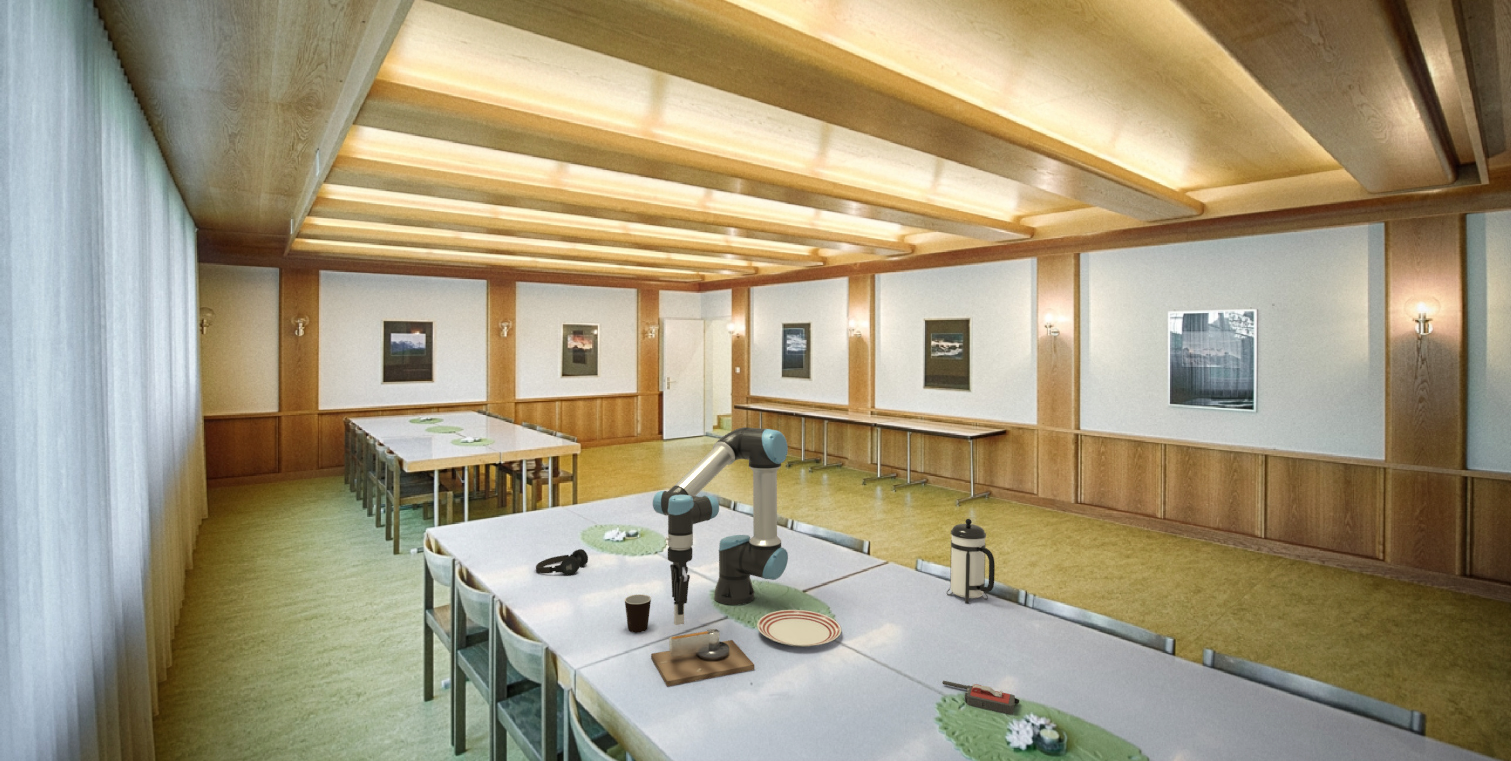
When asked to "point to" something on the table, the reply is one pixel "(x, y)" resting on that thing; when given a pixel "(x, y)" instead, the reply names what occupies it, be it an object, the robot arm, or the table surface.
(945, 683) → the walkie-talkie
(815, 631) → the dinner plate
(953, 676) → the table surface
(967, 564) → the coffee press
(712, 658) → the lever handle
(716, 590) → the robot arm
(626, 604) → the coffee mug
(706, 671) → the board
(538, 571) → the headphones
